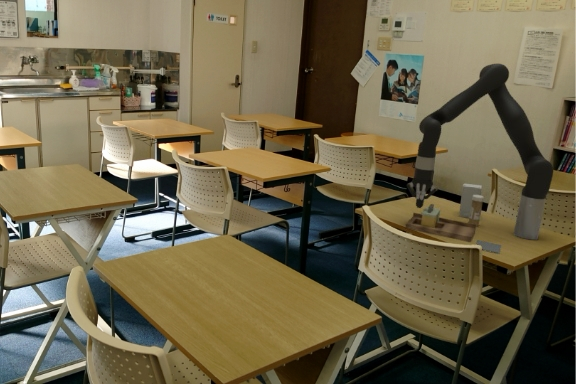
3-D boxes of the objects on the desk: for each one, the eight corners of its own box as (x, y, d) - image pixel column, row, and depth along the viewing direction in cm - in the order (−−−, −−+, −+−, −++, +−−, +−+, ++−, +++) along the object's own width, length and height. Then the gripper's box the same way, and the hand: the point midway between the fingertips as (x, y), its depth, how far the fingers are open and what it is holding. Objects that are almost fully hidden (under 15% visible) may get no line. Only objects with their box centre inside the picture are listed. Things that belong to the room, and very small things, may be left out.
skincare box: (477, 216, 241) (483, 185, 237) (476, 219, 235) (482, 188, 231) (459, 213, 244) (464, 182, 240) (457, 216, 238) (462, 185, 234)
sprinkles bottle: (477, 228, 223) (482, 198, 220) (466, 225, 226) (471, 196, 222) (479, 225, 227) (484, 195, 224) (468, 223, 229) (473, 193, 226)
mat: (501, 245, 204) (501, 244, 204) (499, 253, 195) (499, 252, 195) (474, 240, 208) (474, 239, 208) (471, 247, 199) (471, 246, 199)
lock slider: (438, 221, 221) (441, 203, 218) (433, 227, 211) (436, 209, 209) (424, 218, 223) (427, 201, 221) (419, 224, 214) (421, 206, 212)
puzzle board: (474, 233, 216) (476, 224, 214) (470, 243, 204) (472, 233, 203) (412, 221, 226) (413, 212, 225) (405, 229, 215) (406, 220, 214)
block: (434, 227, 218) (437, 214, 216) (432, 231, 213) (434, 217, 212) (423, 225, 220) (424, 212, 218) (420, 228, 215) (422, 214, 214)
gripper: (442, 168, 214) (436, 208, 218) (410, 163, 219) (405, 202, 224) (439, 171, 207) (433, 212, 212) (406, 166, 212) (401, 206, 217)
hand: (419, 207), depth 218 cm, fingers closed
